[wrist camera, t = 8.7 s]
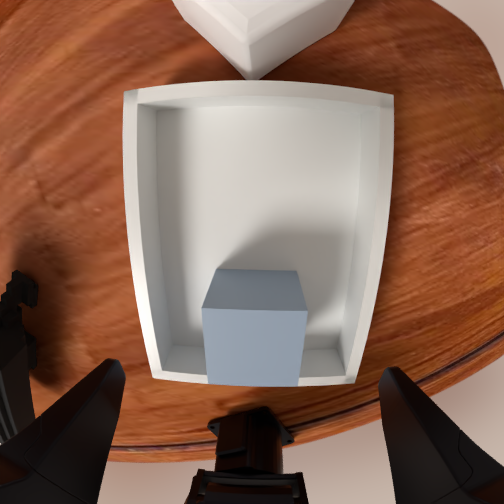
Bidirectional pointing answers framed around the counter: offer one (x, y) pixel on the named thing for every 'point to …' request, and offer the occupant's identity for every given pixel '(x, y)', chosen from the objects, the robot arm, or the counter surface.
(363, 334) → the tote
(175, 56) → the counter surface
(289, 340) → the block
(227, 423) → the robot arm
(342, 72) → the counter surface
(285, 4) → the medicine bottle
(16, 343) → the security camera
